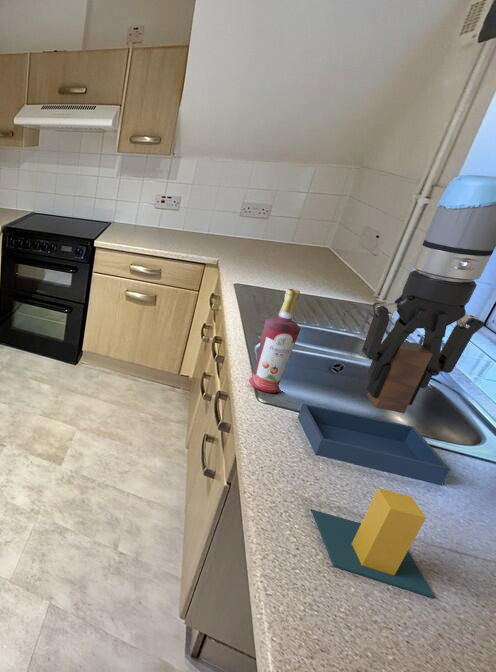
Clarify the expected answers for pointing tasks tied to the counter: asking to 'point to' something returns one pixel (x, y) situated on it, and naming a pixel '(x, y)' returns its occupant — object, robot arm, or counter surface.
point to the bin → (372, 443)
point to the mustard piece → (387, 531)
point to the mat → (344, 557)
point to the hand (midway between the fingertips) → (388, 396)
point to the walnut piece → (402, 377)
